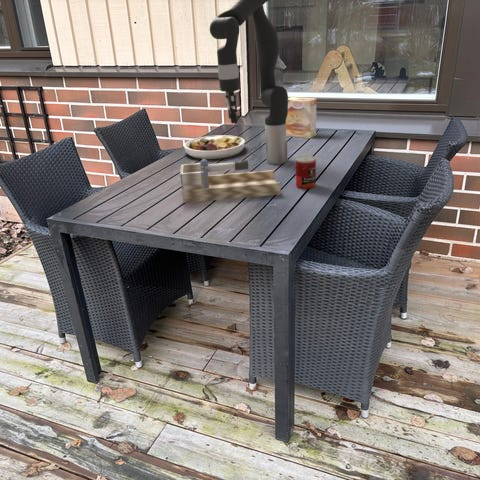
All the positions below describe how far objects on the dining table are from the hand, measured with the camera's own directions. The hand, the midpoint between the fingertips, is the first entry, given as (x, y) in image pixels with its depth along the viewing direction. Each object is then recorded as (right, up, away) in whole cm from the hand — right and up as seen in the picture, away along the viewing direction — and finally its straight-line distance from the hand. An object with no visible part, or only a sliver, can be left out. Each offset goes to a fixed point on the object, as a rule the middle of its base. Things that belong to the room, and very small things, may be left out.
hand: (232, 120), depth 184 cm
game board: (-1, -27, +2) cm, 27 cm away
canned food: (+28, -25, +2) cm, 38 cm away
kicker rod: (-2, -25, 0) cm, 25 cm away
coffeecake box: (+36, +10, +73) cm, 82 cm away
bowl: (-10, -2, +55) cm, 56 cm away
